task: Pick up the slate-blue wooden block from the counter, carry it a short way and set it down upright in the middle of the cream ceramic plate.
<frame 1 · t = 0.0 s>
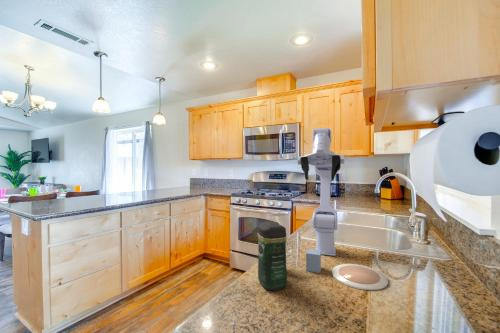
hand: (319, 177, 68), 32 cm above the countertop, tool tilted 50°, fingers open, 7 cm apart
block: (313, 269, 78), on the countertop
coffee jar: (272, 283, 69), on the countertop
plate: (358, 276, 72), on the countertop
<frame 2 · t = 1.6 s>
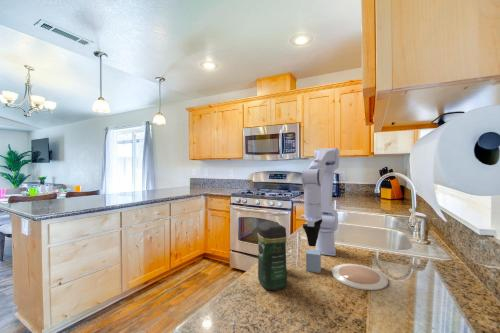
hand: (313, 242, 78), 9 cm above the countertop, tool pointing down, fingers open, 7 cm apart
nothing on the countertop moved.
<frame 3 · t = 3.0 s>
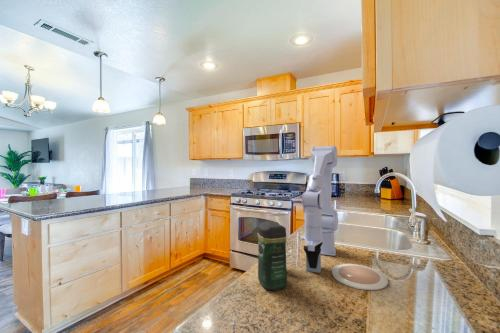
hand: (313, 264, 78), 1 cm above the countertop, tool pointing down, fingers closed on block, 4 cm apart
block: (313, 268, 78), on the countertop, touching gripper
everything else where it was.
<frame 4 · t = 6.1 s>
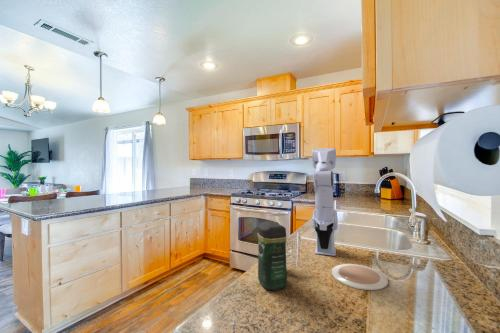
hand: (324, 246, 77), 8 cm above the countertop, tool pointing down, fingers closed on block, 4 cm apart
block: (324, 250, 77), point 7 cm above the countertop, touching gripper
everything else where it was.
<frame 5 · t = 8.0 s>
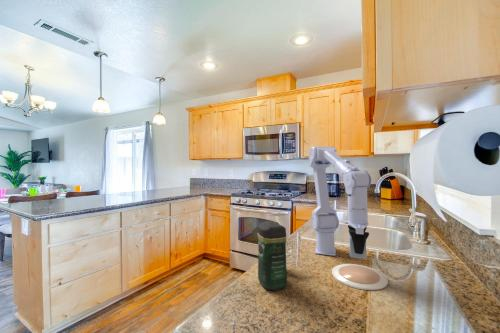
hand: (358, 250, 72), 8 cm above the countertop, tool pointing down, fingers closed on block, 4 cm apart
block: (357, 255, 72), point 7 cm above the countertop, touching gripper
everything else where it was.
when the fingers open (3 cm above the countertop, at t = 9.6 s): block stays where it is, resting on plate.
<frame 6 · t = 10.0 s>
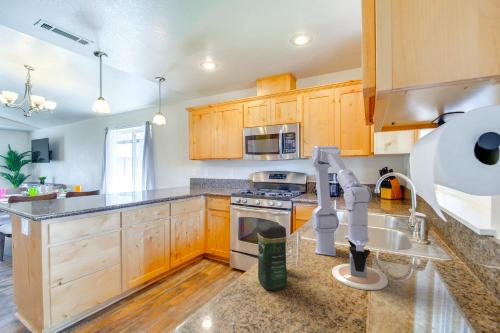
hand: (358, 266, 72), 3 cm above the countertop, tool pointing down, fingers open, 7 cm apart
block: (357, 273, 72), point 1 cm above the countertop, touching plate
everything else where it was.
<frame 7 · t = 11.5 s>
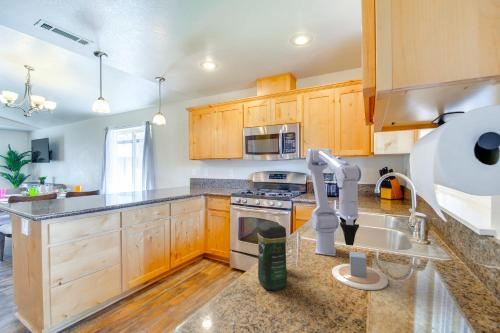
hand: (348, 241, 76), 10 cm above the countertop, tool pointing down, fingers open, 7 cm apart
nothing on the countertop moved.
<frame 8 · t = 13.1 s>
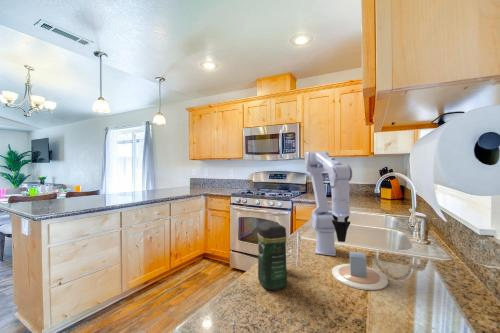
hand: (341, 238, 79), 10 cm above the countertop, tool pointing down, fingers open, 7 cm apart
nothing on the countertop moved.
at the end: block 0.2 cm from the plate (horizontally); block tilted 0°; block touching plate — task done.
